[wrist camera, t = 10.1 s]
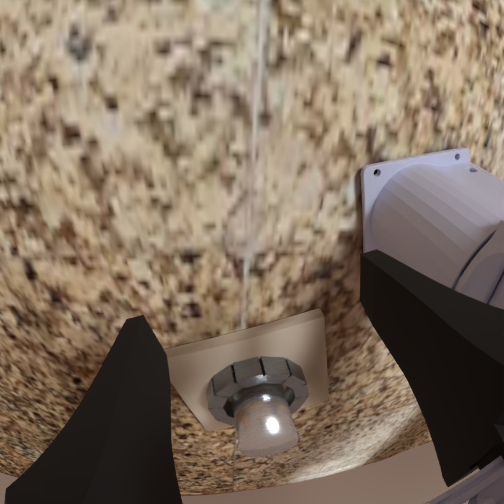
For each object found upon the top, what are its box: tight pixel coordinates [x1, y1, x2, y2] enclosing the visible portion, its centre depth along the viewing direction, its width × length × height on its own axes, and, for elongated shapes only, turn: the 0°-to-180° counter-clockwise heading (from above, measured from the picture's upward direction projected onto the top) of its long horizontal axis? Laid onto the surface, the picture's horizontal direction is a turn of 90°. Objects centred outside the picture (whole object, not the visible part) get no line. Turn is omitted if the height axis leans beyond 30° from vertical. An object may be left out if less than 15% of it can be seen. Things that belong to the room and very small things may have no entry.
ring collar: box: [206, 356, 309, 427], centre depth 26 cm, size 8×8×2 cm
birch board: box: [164, 308, 329, 431], centre depth 27 cm, size 13×13×1 cm
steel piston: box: [231, 383, 298, 457], centre depth 24 cm, size 4×4×6 cm
